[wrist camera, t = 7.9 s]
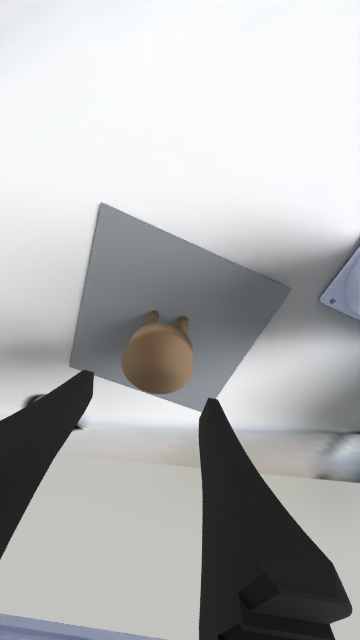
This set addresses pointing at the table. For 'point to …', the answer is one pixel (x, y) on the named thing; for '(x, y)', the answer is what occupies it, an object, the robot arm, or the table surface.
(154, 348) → the stool
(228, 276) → the mat
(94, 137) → the table surface
